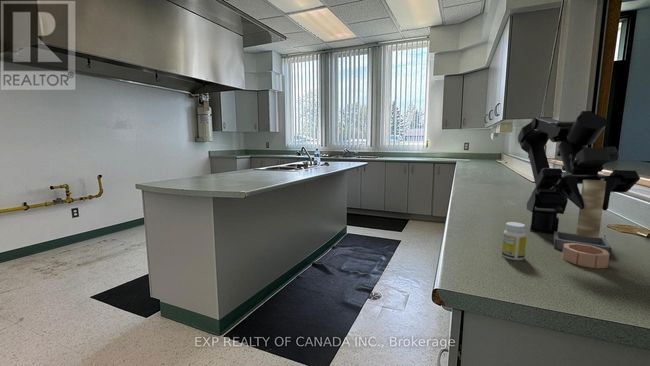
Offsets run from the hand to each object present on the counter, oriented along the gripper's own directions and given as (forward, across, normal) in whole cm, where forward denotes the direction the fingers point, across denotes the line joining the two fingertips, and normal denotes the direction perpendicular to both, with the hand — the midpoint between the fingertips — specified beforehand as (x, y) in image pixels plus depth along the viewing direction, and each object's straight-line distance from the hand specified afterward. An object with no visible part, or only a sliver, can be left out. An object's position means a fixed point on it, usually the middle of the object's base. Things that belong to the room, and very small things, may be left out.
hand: (594, 208), depth 68 cm
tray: (+1, +3, +18) cm, 18 cm away
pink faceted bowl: (+8, 0, +10) cm, 13 cm away
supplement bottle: (+10, -16, +9) cm, 20 cm away
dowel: (+4, 0, +6) cm, 7 cm away
